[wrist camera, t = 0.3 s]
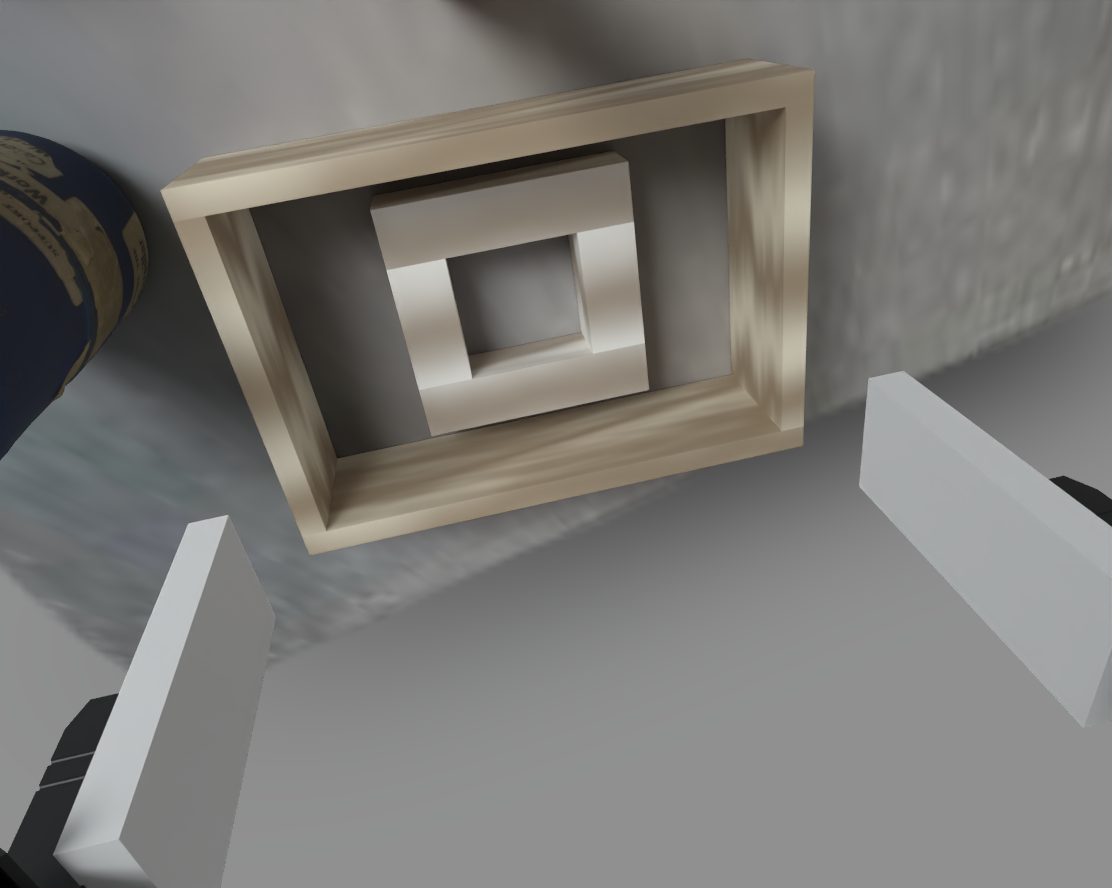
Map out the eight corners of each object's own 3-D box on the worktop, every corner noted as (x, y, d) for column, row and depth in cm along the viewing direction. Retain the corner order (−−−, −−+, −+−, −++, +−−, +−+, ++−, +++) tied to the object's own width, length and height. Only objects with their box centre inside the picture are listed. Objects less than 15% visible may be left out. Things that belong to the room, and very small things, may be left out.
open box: (202, 158, 34) (160, 190, 28) (747, 58, 36) (814, 69, 30) (322, 480, 44) (309, 555, 38) (751, 388, 46) (803, 445, 40)
